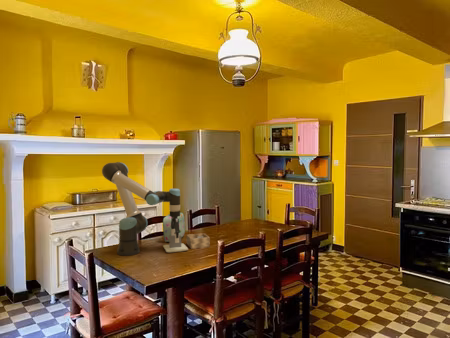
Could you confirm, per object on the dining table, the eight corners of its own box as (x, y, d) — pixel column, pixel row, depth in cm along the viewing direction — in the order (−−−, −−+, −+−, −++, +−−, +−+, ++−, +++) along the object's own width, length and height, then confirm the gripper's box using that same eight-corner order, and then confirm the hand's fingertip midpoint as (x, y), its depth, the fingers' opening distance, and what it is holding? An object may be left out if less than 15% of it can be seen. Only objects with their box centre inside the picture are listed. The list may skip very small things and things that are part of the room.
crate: (191, 248, 251) (191, 239, 251) (186, 243, 264) (186, 234, 264) (209, 247, 256) (209, 237, 255) (204, 242, 269) (204, 233, 269)
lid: (166, 253, 240) (166, 239, 239) (163, 247, 254) (162, 234, 253) (188, 251, 245) (187, 237, 244) (183, 245, 259) (183, 232, 258)
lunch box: (175, 244, 263) (174, 216, 262) (162, 243, 265) (161, 215, 264) (186, 235, 289) (185, 210, 288) (174, 235, 292) (173, 209, 290)
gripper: (184, 213, 237) (184, 244, 238) (176, 207, 261) (176, 235, 262) (173, 213, 235) (173, 245, 236) (166, 208, 258) (166, 236, 260)
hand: (175, 240), depth 249 cm, fingers open, 13 cm apart
